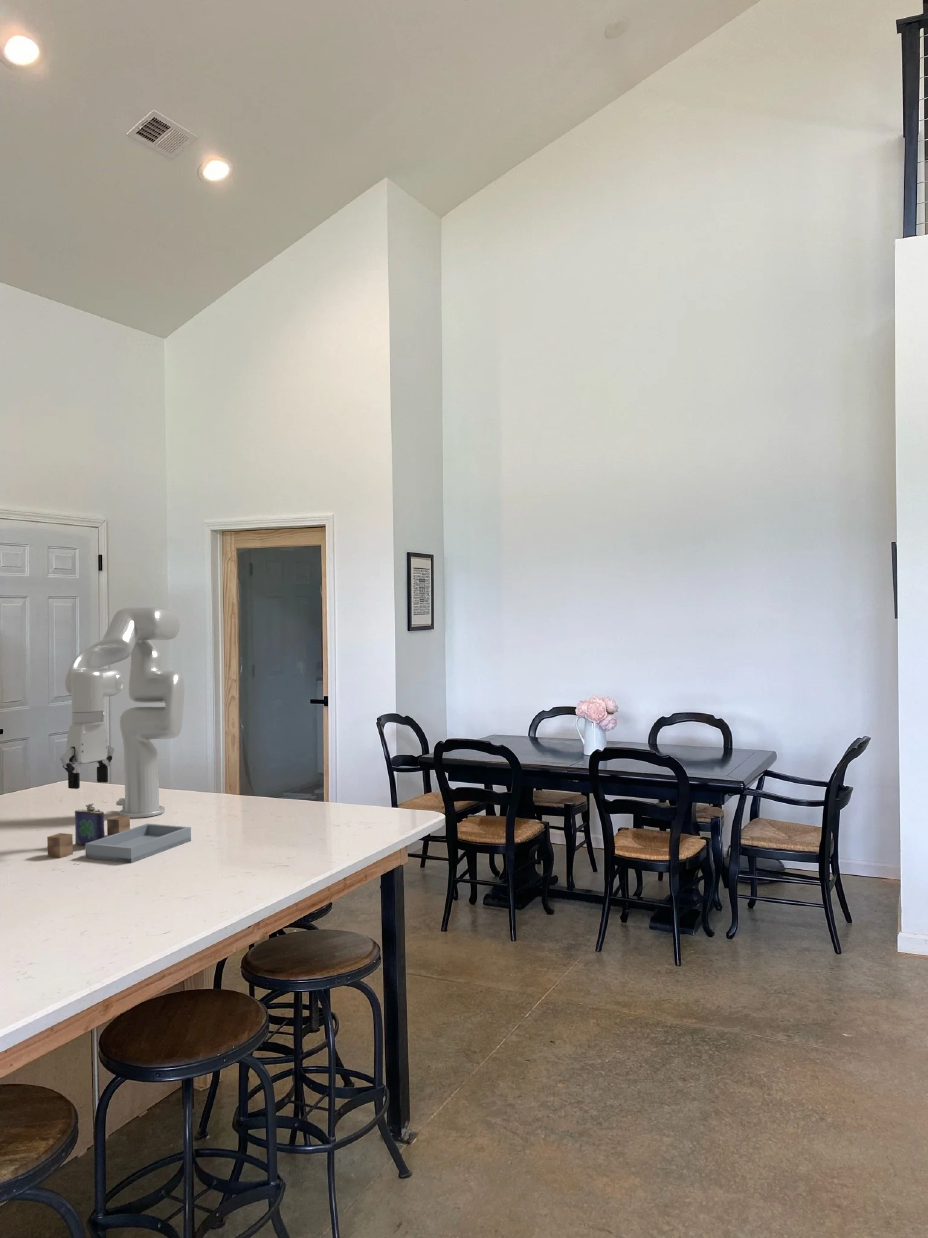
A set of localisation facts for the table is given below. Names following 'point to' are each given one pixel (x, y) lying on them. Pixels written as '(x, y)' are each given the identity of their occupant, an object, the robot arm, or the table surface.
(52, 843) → the walnut block near
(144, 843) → the tray
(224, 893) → the table surface
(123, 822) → the walnut block far
